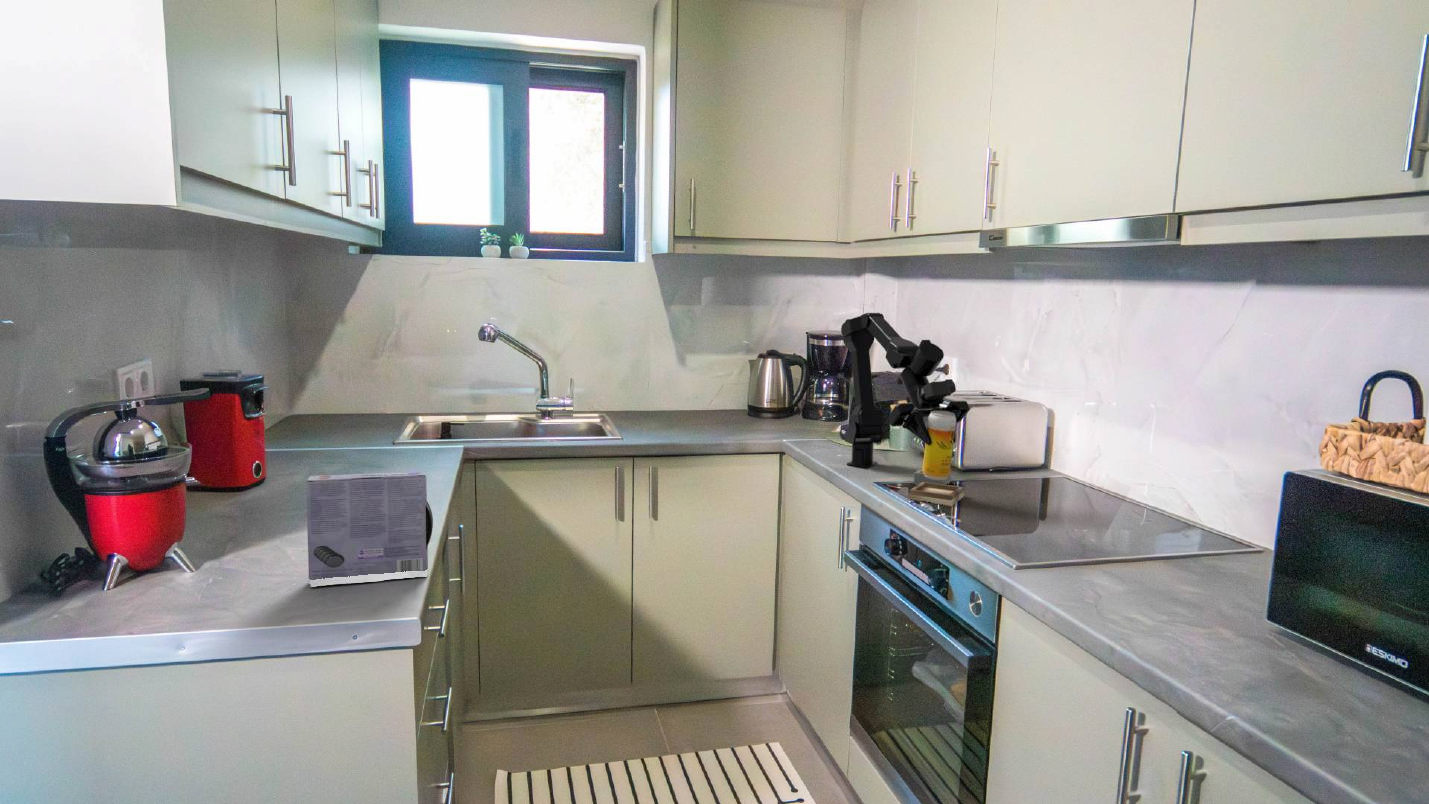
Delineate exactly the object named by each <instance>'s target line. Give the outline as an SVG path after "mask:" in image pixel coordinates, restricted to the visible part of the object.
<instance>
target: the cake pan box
mask: <svg viewBox="0 0 1429 804" xmlns="http://www.w3.org/2000/svg"><path fill="white" fill-rule="evenodd" d="M427 494H428V493H427V474H426V471H408V472H407V471H406V472H384V473H383V472H382V473H381V472H377V473H376V472H375V473H354V474H351V473H350V474H349V473H348V474H329V475H328V474H327V475H326V474H325V475H324V474H323V475H310V476H309V477H308V479H307V480H306V501H307V502H306V503H307V505H306V506H307V507H306V508H307V510H306V511H307V550H308V551H307V552H308V553H307V554H308V555H307V556H308V557H307V559H308V580H309V579H310V580H316V579H322V578H323V579H325V578H333V577H348V576H349V577H350V576H358V575H368V574H384V573H395V572H404V571H405V572H406V571H425V570H427V569H428V570H429V554H428V552H429V550H428V549H429V547H428V546H429V544H430V542H431V539H432V535H433V527H434V518H433V512H432V509H431V506H430V503H429V502H428V499H427V497H428V495H427Z"/></svg>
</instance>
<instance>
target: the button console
mask: <svg viewBox="0 0 1429 804" xmlns="http://www.w3.org/2000/svg"><path fill="white" fill-rule="evenodd" d="M922 470H923V467H922V468H920V469H918V470H916V471H915V472H913V475H914V477H913V478H914V479H913V485H914V484H915V485H914V486H917V485H919V484H920V483H922V482H929V483H936V484H944V485H947V484H948V485H950V484H951V483H952V482H951V481H952V471H951V470H950V475H949V476H948V477H947V479H945V480H933V479H929V478H927V477H925V476H924V474H923V472H922ZM950 482H951V483H950ZM949 483H950V484H949Z"/></svg>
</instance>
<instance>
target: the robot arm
mask: <svg viewBox="0 0 1429 804" xmlns="http://www.w3.org/2000/svg"><path fill="white" fill-rule="evenodd" d="M840 333H841V335H842V339H843V344H844V346H845V347H846V348H847V350H848V351H849V352H850V356H851V357H850V359H851V367H852V368H851V369H852V380H853V388H854V389H853V390H854V402H855V403H854V404H855V407H854V408H853V411H852V413H851V415H850V424H849V425H848V427H847V429H846V430H845V432H844V433H843V435H844V442H846V443H848V444H851V461H848V462H846V465H847V466H851V467H860V468H867V469H869V468H871V467H875V465H877V464H878V461H874V447H875V445H874V444H877V443H878V444H881V443H882V439H883V435H884V432H885V423H884V417H883V410H882V409H879V408H878V407H877V405H875V397H874V389H873V388H874V386H873V379H872V377H873V375H872V368H871V367H872V366H871V365H872V364H871V356H870V349H871V348H872V346H873V344H874V342H875V340H876V341H877V342H878V343H879V344H880V346H881V347H882V348H883V349H884V351H885V359H886V361H887V363H888V364H889V365H890V368H892V369H894V370H895V369H902V370H901V372H900V373H899V376H898V379H897V382H896V383H897V385H898V386H899V385H903V386H904V389H905V392H906V394H907V397H906V398H905V400H906V402H902V403H901V402H899V403H896V405H895V406H894V408H893V409H892V410H891V412H890V413H889V415H888V422H889V424H890V426H891V427H901V426H902V429H906V430H908V431H909V432H911V433H912V434H914V435H915V436H916V437H918V438H919V439H920V440H921V441H923V442H924V443H926V444H928V445H931V444H932V441H931V438H930V435H929V433H928V430H927V425H926V423H925V421H924V418H928V417H929V415H930V414H931V411H947V412H951V413H954V414H955V418H956V424H958V423H960V422H961V421H962V420H963V419H964V418H965V417H966V415H967V414H968V413H969V411H970V410H971V408H970V405H969V403H968V402H967V401H966V400H951V401H950V402H949V403H948V404H947V405H946V407H941V405H942V404H943V403H944V402H945V398H946V397H950V396H952V394H954V393H955V392H957V391H956V390H957V387H956V384H955V382H954V380H953V379H951V378H950V379H949V378H948V379H945V380H941V381H931V382H930V381H929V379H928V377H930V376H932V375H933V373H934V372H935V371H936V370H937V368H938V366H939V365H940V363H941V362H942V360H944V356H945V354H944V351H943V349H941V348H940V347H939V346H938V345H936V344H935V343H933V342H932V341H931V340H930V339H922V340H920V342H919V345H917V344H916V343H915V342H913V341H912V340H908V339H905V338H903V337H901V336H900V335H899V333H898V331H896V330H895V329H894V328H893V326H891V324H890V323H889V322H888V321H887V320H886V319H885V316H884V314H883V313H881V312H865V313H863V314H861V315H859V316H856V317H853V318H846V320H845V322H843V323H842V325H841V328H840ZM956 437H957V435H956V433H955V434H954V442H953V445H954V444H955V443H957V442H956V441H957V440H956Z"/></svg>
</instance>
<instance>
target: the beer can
mask: <svg viewBox="0 0 1429 804" xmlns="http://www.w3.org/2000/svg"><path fill="white" fill-rule="evenodd" d="M927 418H928V419H927V420H928V421H927V425H926V428H927V430H928V433H929V435H930V438H931V441H932V444H931V445H928V444H926V443H925V442H924V443H925V446H924V453H923V454H924V455H923V461H922V462H923V463H922V468H923V470H922V472H923V474H924V476H925V477H927V478H929V479H933V480H945V479H947V477H948V476H949V475H950V471H951V465H952V457H953V450H954V449H953V448H954V444H953V442H954V434H955V435H956V424H957V423H956V418H955V414H954V413H951V412H947V411H931V414H930V415H929V417H927Z"/></svg>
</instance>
